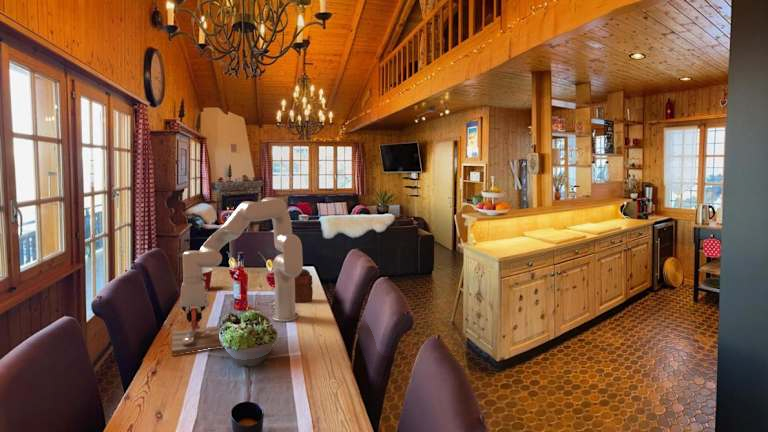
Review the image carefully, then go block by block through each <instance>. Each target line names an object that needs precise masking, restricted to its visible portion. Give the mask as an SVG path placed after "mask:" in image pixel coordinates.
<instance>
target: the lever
mask: <svg viewBox="0 0 768 432" xmlns="http://www.w3.org/2000/svg"><path fill="white" fill-rule="evenodd" d="M197 313H198V307H190V316H191V322H190V329H188V330H189V332H188V334H187V336H186V337H185V338H183V345H185V346H188V345H192V344H194V336H195V334H196V332H197V330H198V329H199V322H197Z"/></svg>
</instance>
